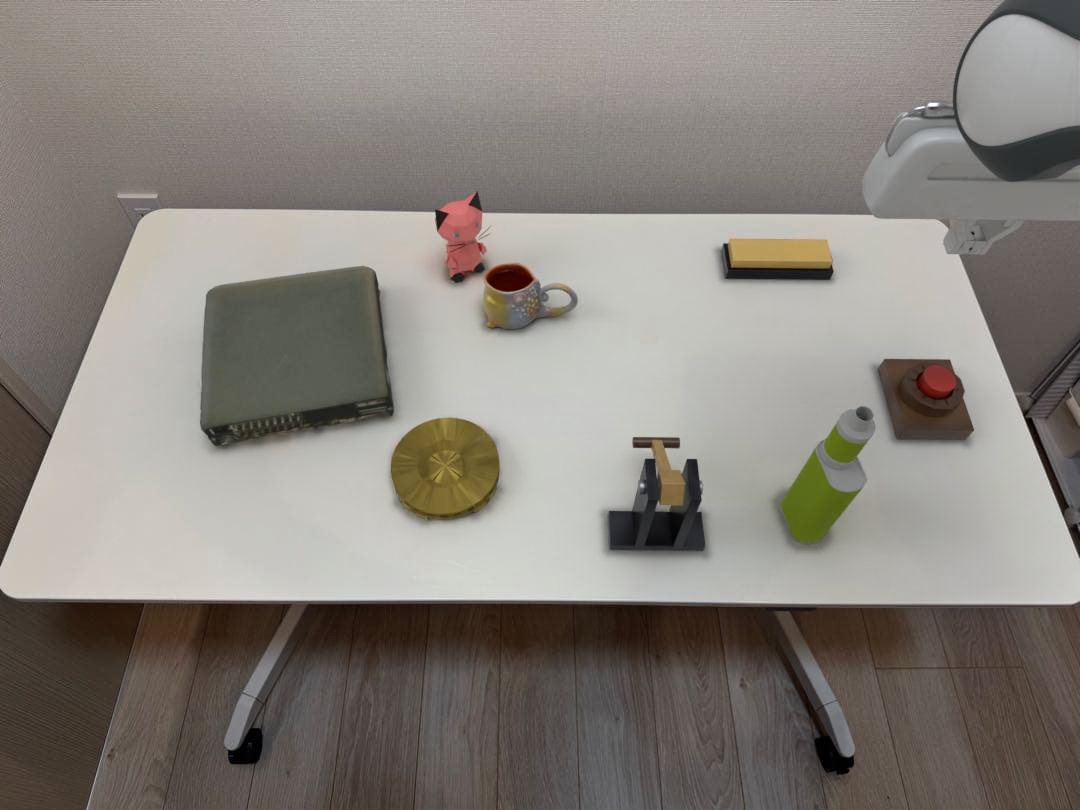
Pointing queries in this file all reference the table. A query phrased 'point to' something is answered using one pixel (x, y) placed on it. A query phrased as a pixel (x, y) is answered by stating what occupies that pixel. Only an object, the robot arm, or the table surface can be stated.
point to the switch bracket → (660, 516)
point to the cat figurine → (462, 235)
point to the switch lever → (664, 468)
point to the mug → (519, 297)
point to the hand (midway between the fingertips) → (962, 248)
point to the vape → (829, 478)
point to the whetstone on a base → (777, 259)
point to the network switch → (293, 354)
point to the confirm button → (936, 382)
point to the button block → (923, 402)
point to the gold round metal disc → (445, 468)
